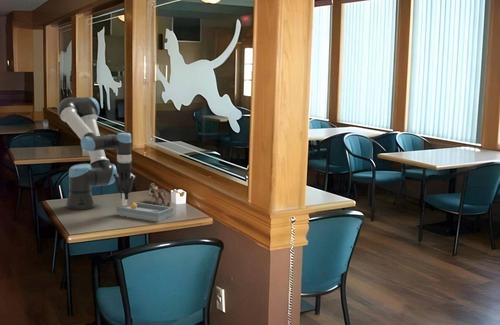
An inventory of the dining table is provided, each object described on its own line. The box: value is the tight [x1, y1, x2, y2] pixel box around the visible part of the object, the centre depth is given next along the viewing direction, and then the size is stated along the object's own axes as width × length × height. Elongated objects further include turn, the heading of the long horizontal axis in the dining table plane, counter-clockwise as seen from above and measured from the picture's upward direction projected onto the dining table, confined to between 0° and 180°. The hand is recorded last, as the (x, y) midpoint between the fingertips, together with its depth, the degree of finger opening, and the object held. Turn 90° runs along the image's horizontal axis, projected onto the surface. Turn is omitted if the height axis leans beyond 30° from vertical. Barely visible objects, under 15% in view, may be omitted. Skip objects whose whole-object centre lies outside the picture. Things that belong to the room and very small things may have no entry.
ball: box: [130, 203, 137, 209], centre depth 312 cm, size 3×3×3 cm
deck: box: [116, 201, 174, 223], centre depth 310 cm, size 26×14×4 cm, turn 67°
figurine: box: [148, 182, 170, 207], centre depth 336 cm, size 11×10×30 cm
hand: (124, 205), depth 315 cm, fingers closed
